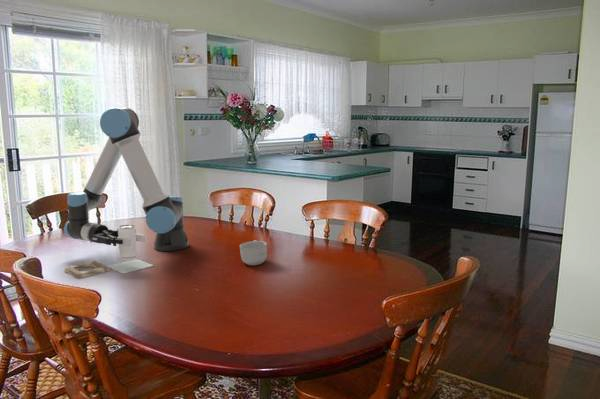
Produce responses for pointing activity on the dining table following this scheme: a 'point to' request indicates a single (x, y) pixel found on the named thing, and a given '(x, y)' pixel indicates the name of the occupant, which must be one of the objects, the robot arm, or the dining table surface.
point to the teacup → (253, 252)
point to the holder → (99, 269)
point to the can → (128, 233)
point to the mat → (130, 266)
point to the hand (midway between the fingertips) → (136, 240)
